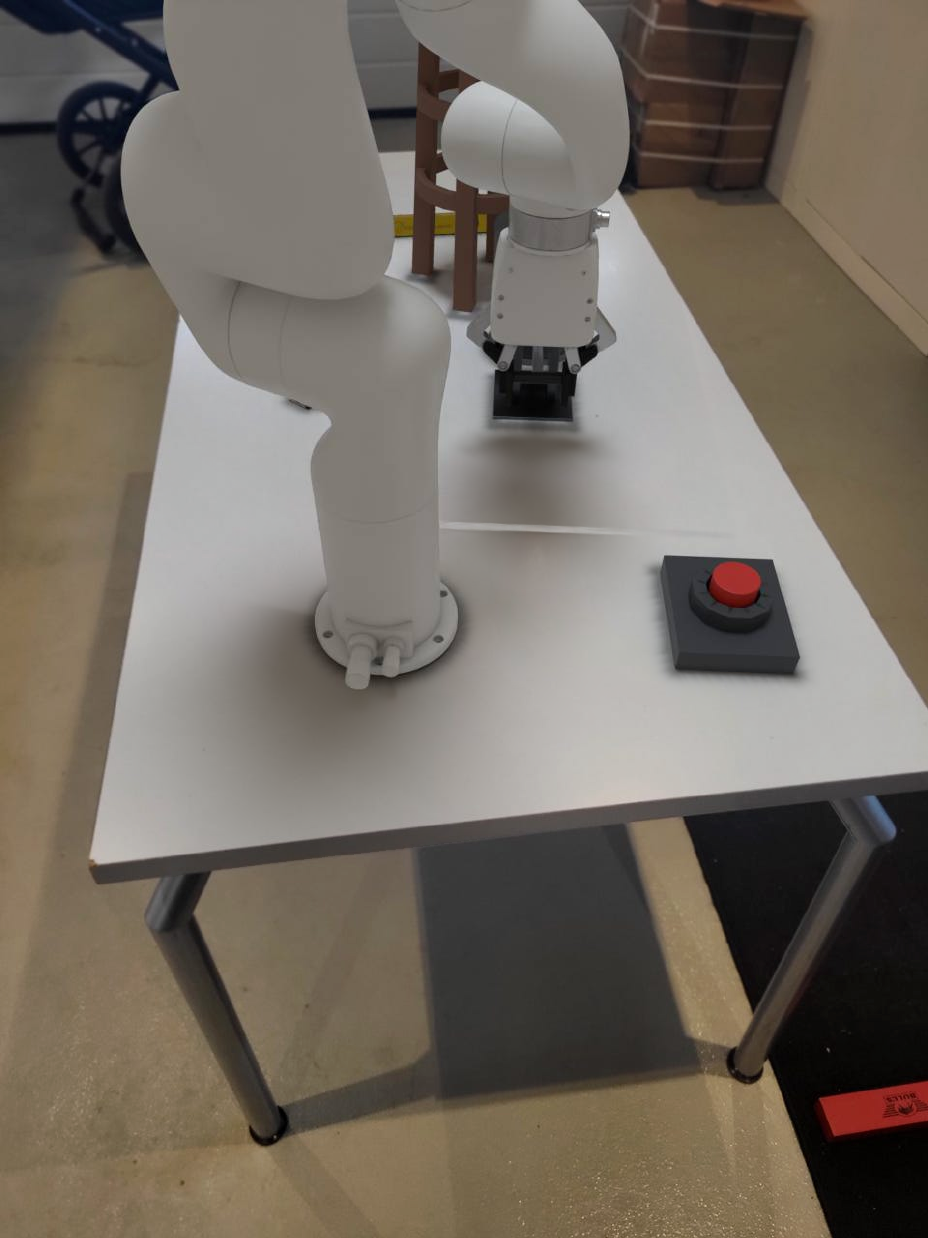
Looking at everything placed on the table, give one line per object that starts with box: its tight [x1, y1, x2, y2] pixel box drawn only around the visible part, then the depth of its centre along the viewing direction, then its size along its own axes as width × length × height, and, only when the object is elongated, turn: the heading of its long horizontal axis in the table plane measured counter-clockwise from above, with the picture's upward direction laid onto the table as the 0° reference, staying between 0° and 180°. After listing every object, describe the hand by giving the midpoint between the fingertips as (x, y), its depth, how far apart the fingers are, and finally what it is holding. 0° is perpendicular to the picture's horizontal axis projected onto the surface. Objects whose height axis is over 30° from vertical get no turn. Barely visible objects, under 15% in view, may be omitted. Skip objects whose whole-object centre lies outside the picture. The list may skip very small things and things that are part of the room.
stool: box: [411, 41, 510, 313], centre depth 110 cm, size 20×35×20 cm
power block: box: [659, 554, 801, 675], centre depth 78 cm, size 12×10×4 cm
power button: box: [709, 562, 761, 608], centre depth 76 cm, size 4×4×2 cm
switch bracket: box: [492, 345, 574, 423], centre depth 99 cm, size 10×9×12 cm
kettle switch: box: [513, 346, 563, 385], centre depth 93 cm, size 11×5×2 cm, turn 177°
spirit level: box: [393, 211, 487, 237], centre depth 132 cm, size 33×1×3 cm, turn 97°
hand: (535, 398), depth 92 cm, fingers closed on kettle switch, 5 cm apart
